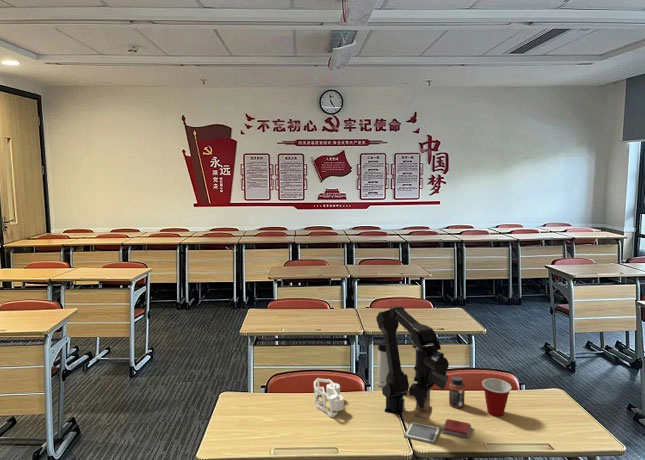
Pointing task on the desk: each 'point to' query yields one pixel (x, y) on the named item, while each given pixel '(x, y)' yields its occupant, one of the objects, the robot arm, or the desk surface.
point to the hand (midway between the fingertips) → (422, 405)
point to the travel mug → (382, 365)
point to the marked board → (422, 432)
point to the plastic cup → (496, 395)
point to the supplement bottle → (456, 393)
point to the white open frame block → (329, 396)
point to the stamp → (426, 410)
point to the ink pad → (457, 428)
